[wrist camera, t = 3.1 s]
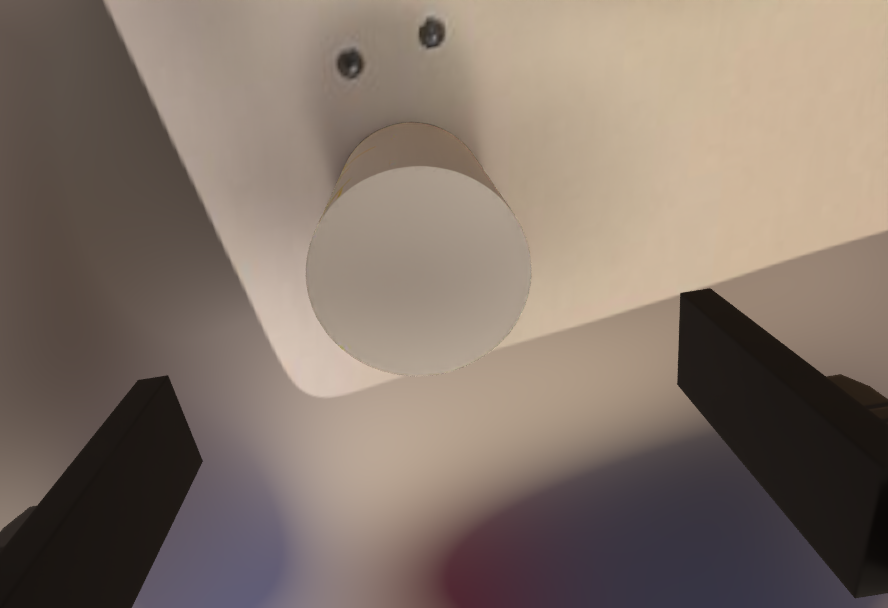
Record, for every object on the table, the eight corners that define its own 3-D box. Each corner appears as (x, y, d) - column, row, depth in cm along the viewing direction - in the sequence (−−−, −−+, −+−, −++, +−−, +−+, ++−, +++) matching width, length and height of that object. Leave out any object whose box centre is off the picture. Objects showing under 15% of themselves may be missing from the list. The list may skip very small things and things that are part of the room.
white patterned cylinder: (332, 123, 29) (292, 168, 18) (487, 121, 30) (537, 163, 19) (344, 269, 33) (317, 380, 22) (483, 265, 33) (525, 371, 22)
